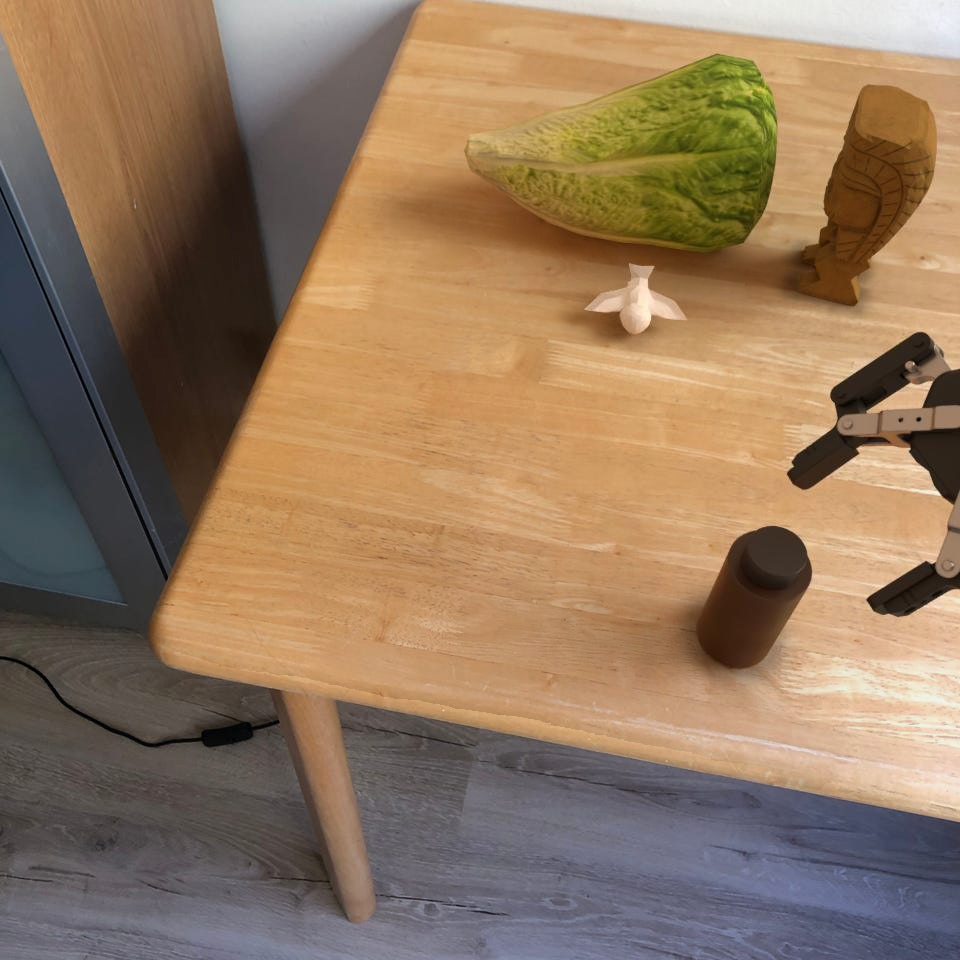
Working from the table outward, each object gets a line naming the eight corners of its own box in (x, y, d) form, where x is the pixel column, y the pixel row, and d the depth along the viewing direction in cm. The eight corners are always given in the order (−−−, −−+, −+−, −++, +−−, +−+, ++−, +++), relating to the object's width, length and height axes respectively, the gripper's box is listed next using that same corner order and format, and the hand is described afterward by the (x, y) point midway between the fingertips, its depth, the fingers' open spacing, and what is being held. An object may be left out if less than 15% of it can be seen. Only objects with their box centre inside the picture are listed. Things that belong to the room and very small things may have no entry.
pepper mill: (785, 635, 60) (838, 551, 52) (740, 683, 58) (787, 604, 50) (726, 588, 62) (768, 500, 54) (681, 633, 60) (717, 548, 52)
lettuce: (463, 282, 79) (474, 181, 89) (766, 280, 77) (743, 177, 87) (451, 115, 68) (465, 21, 78) (804, 109, 66) (772, 13, 76)
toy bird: (580, 335, 73) (588, 276, 71) (581, 311, 77) (589, 254, 75) (686, 346, 73) (698, 287, 70) (682, 321, 77) (693, 265, 74)
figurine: (800, 242, 81) (861, 78, 69) (879, 259, 80) (956, 96, 68) (789, 297, 77) (853, 134, 65) (872, 316, 76) (953, 154, 64)
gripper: (1005, 228, 48) (741, 428, 55) (1218, 446, 40) (879, 647, 47) (1040, 286, 53) (796, 461, 60) (1234, 488, 45) (928, 662, 52)
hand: (833, 542), depth 53 cm, fingers open, 8 cm apart
